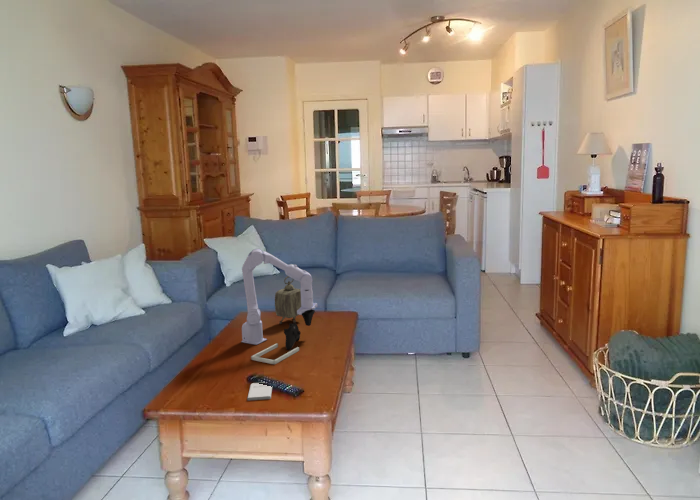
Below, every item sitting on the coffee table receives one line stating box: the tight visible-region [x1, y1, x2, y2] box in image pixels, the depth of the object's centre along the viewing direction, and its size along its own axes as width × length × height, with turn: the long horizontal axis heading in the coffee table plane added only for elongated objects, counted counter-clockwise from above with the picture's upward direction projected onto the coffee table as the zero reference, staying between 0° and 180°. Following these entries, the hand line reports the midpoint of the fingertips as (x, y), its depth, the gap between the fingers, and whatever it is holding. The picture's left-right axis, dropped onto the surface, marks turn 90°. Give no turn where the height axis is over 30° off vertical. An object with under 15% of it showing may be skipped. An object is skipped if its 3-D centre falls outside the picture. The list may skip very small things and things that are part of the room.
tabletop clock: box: [274, 275, 301, 325], centre depth 273 cm, size 14×9×25 cm, turn 144°
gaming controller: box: [283, 322, 301, 351], centre depth 238 cm, size 14×6×10 cm, turn 168°
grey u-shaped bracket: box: [250, 343, 300, 365], centre depth 228 cm, size 13×18×2 cm
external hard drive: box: [247, 382, 273, 401], centre depth 191 cm, size 2×8×12 cm
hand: (308, 325), depth 249 cm, fingers closed
